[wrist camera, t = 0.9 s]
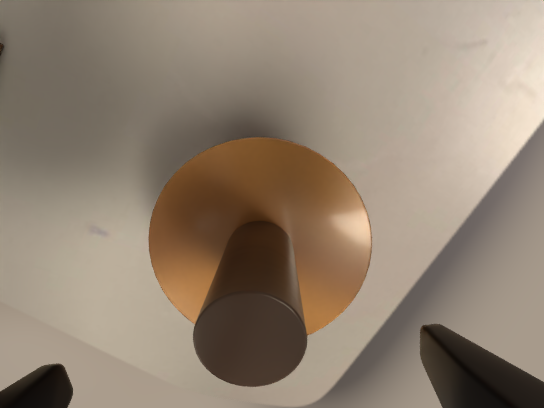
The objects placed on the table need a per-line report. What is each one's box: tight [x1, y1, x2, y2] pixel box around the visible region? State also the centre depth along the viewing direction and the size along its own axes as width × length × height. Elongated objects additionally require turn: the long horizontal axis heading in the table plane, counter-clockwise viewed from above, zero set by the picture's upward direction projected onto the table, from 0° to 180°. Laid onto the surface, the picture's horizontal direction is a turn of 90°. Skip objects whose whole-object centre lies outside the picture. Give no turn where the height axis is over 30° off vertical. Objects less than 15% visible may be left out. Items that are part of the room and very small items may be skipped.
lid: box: [149, 137, 372, 387], centre depth 11 cm, size 10×10×7 cm
